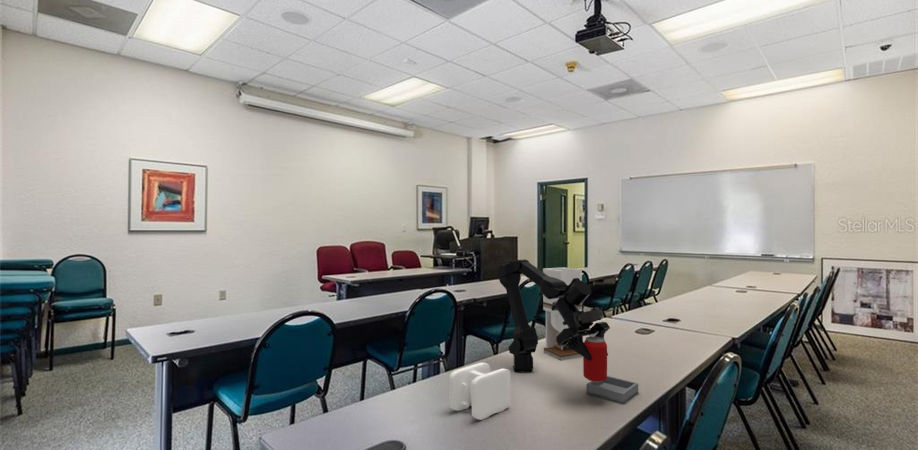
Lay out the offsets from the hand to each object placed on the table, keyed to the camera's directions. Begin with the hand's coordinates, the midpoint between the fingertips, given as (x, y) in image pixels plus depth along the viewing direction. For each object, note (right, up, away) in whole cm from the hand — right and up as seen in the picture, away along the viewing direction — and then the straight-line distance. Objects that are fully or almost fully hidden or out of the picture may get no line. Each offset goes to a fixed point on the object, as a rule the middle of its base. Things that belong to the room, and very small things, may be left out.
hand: (599, 358), depth 123 cm
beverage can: (-1, -7, +1) cm, 7 cm away
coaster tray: (+7, -13, +7) cm, 16 cm away
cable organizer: (-36, -14, -4) cm, 38 cm away
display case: (+1, -14, +47) cm, 49 cm away
